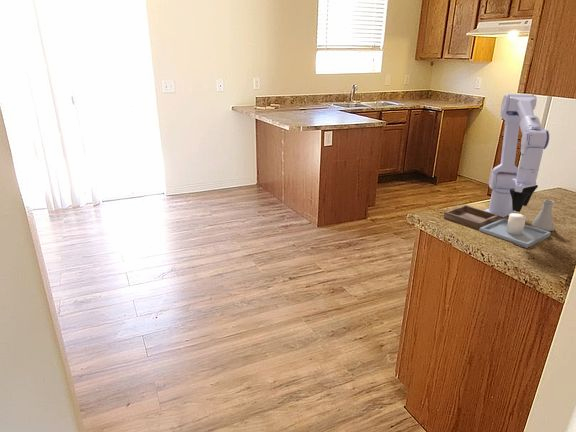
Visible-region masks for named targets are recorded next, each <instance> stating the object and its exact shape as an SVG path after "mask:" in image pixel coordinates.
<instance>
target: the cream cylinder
mask: <svg viewBox="0 0 576 432" xmlns="http://www.w3.org/2000/svg"><path fill="white" fill-rule="evenodd" d="M526 220H527V216H526V215H524V214H521V213H518V212H517V213H516V212H515V213H511V214H509V215H508V224H507V228H506V232H507V233H509V234H511V235H522V234H523V229H524V225H526Z"/></svg>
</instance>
